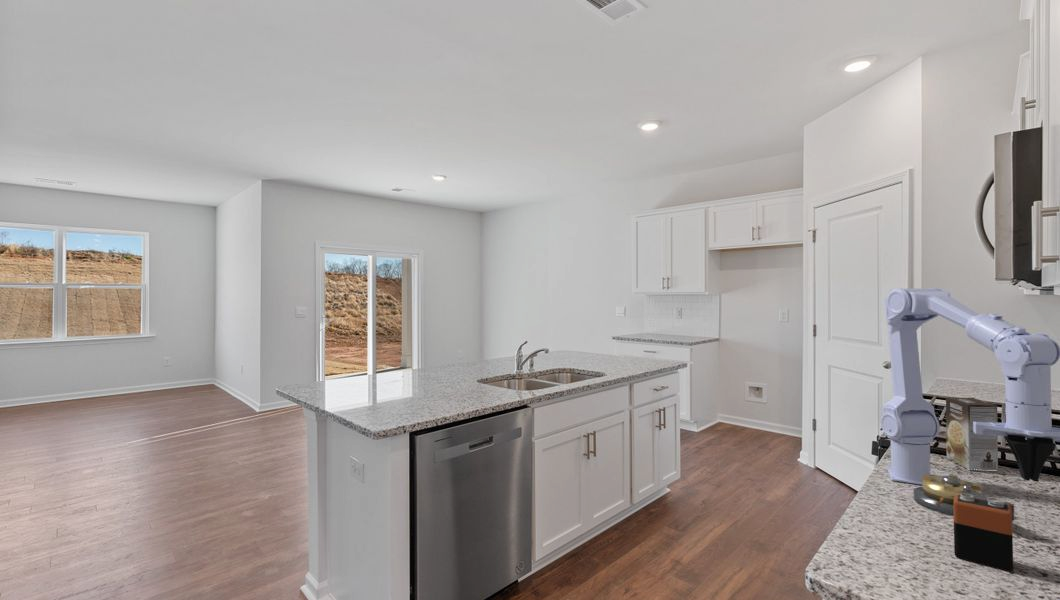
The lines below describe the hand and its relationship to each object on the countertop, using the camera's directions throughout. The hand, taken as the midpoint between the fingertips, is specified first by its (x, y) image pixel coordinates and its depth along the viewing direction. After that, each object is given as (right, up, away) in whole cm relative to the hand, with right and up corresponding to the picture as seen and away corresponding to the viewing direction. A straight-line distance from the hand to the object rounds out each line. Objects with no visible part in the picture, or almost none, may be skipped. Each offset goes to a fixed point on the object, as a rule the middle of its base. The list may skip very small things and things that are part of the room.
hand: (1029, 479), depth 87 cm
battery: (-16, -10, -9) cm, 21 cm away
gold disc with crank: (-4, -8, +8) cm, 12 cm away
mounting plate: (-4, -10, +12) cm, 16 cm away
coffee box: (+21, -9, +34) cm, 41 cm away
